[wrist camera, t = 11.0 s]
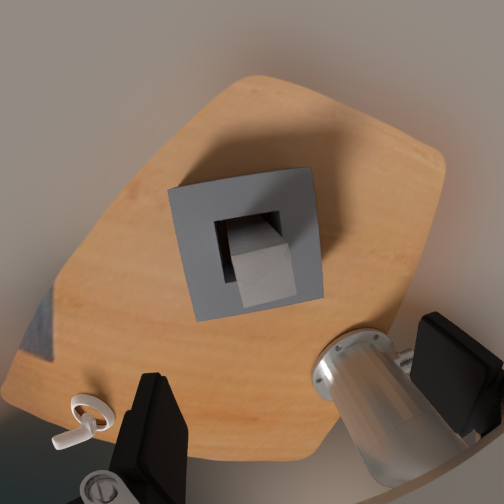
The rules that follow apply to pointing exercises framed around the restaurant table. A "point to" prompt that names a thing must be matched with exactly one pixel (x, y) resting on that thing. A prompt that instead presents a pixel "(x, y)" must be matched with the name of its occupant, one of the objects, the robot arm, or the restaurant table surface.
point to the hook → (84, 422)
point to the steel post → (260, 261)
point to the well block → (236, 205)
